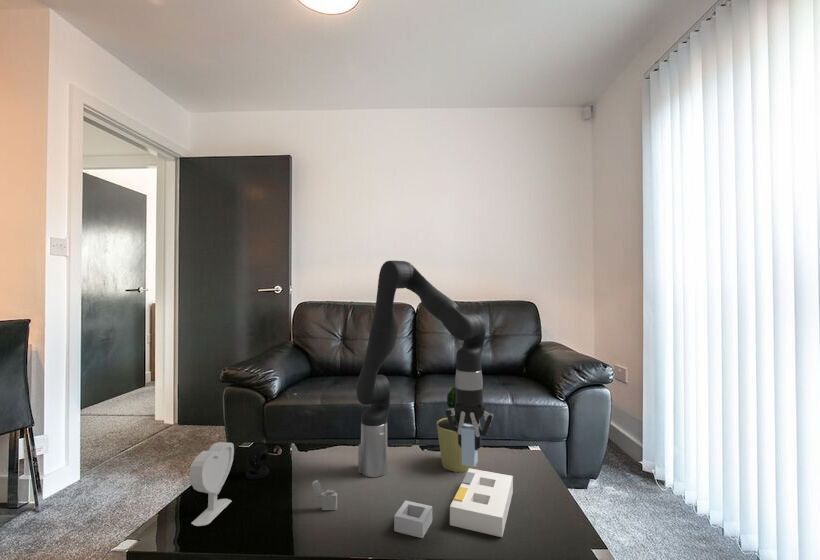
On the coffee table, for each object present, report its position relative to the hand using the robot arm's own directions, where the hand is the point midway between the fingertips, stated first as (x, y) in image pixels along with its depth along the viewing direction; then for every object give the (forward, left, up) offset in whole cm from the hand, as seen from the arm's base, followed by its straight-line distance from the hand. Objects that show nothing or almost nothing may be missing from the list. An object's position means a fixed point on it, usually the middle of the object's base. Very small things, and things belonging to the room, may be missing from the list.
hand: (469, 447), depth 107 cm
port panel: (+2, +8, -20) cm, 21 cm away
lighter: (-41, -10, -20) cm, 46 cm away
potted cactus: (-12, +32, -20) cm, 39 cm away
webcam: (-74, -1, -20) cm, 76 cm away
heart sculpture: (-70, -23, -20) cm, 76 cm away
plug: (0, 0, -4) cm, 4 cm away
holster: (-14, -8, -20) cm, 25 cm away
